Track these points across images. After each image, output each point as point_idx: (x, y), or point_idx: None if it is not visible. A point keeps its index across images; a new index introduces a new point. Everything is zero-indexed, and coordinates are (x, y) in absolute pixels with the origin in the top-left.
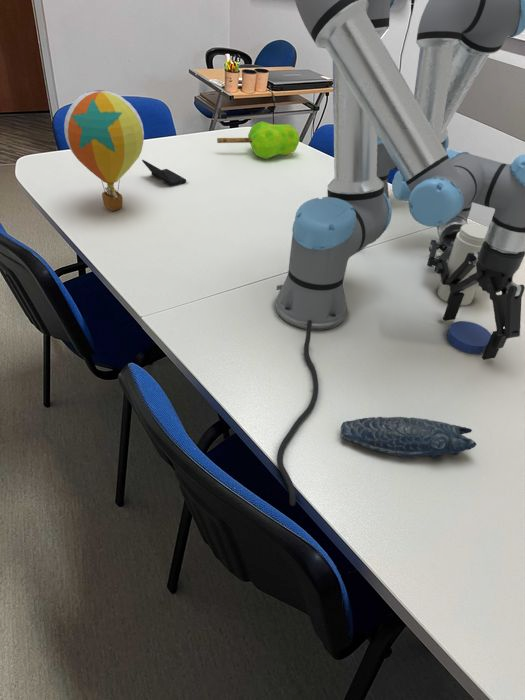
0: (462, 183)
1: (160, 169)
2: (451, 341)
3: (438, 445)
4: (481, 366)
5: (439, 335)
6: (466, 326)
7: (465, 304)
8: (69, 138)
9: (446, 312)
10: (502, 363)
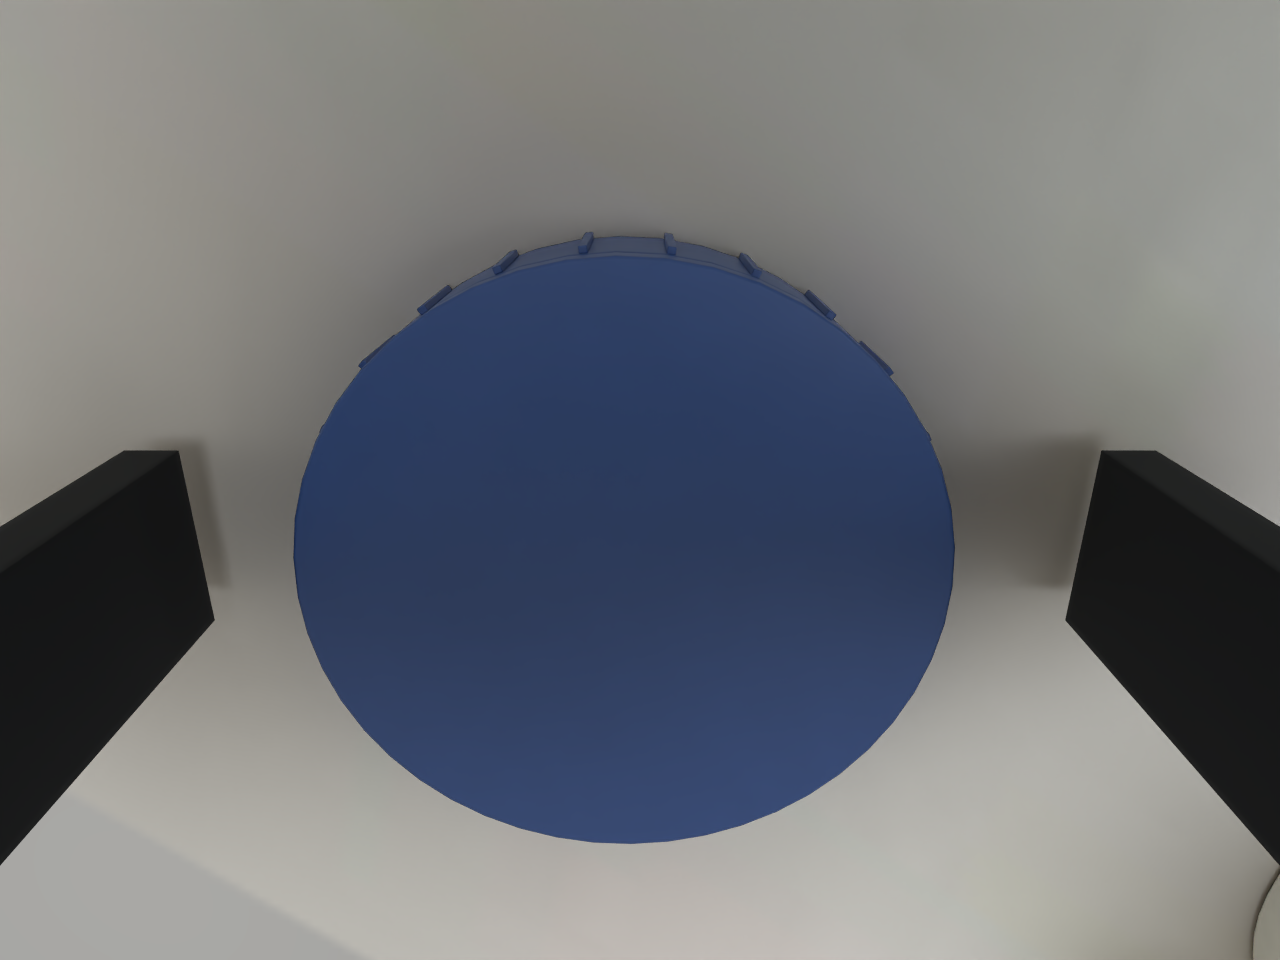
0: None
1: None
2: (623, 243)
3: None
4: (87, 375)
5: (863, 195)
6: (794, 630)
7: (1267, 922)
8: None
9: (1215, 511)
10: None
